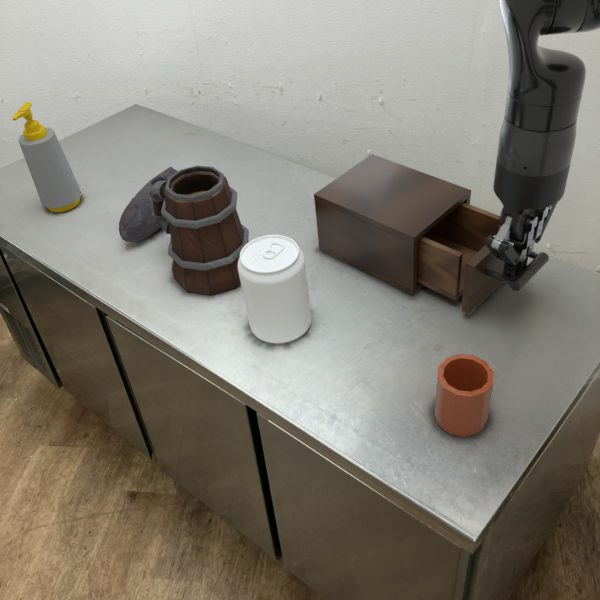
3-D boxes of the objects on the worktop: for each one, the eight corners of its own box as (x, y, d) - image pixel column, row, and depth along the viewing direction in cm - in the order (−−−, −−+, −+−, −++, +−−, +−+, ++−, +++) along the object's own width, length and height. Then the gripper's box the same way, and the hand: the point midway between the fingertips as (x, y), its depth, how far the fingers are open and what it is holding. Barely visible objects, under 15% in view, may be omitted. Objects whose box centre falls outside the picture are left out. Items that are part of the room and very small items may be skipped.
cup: (496, 412, 71) (504, 370, 67) (468, 445, 69) (474, 404, 64) (453, 387, 74) (457, 346, 70) (424, 418, 72) (427, 377, 67)
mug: (270, 256, 95) (255, 168, 85) (218, 306, 89) (195, 216, 78) (192, 227, 103) (170, 143, 93) (138, 271, 96) (108, 185, 86)
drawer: (551, 281, 84) (561, 232, 79) (504, 332, 79) (512, 283, 73) (420, 226, 96) (422, 181, 90) (371, 267, 90) (370, 221, 85)
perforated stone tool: (137, 255, 99) (125, 218, 94) (113, 246, 101) (99, 209, 97) (199, 204, 108) (190, 167, 103) (175, 196, 110) (165, 161, 105)
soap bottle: (37, 215, 110) (-8, 118, 98) (54, 191, 115) (14, 96, 103) (74, 215, 109) (34, 117, 97) (90, 192, 114) (54, 95, 102)
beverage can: (238, 334, 84) (221, 263, 76) (272, 296, 89) (260, 225, 81) (290, 354, 81) (279, 282, 73) (323, 314, 85) (315, 242, 77)
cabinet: (465, 248, 93) (471, 190, 86) (412, 296, 86) (414, 237, 80) (373, 208, 102) (371, 153, 95) (319, 249, 96) (313, 194, 89)
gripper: (535, 194, 63) (513, 320, 75) (596, 138, 70) (567, 261, 82) (469, 171, 68) (457, 294, 79) (532, 120, 74) (513, 240, 86)
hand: (513, 277), depth 80 cm, fingers closed
